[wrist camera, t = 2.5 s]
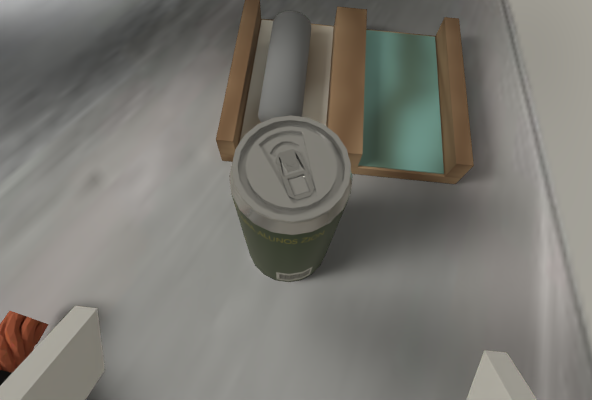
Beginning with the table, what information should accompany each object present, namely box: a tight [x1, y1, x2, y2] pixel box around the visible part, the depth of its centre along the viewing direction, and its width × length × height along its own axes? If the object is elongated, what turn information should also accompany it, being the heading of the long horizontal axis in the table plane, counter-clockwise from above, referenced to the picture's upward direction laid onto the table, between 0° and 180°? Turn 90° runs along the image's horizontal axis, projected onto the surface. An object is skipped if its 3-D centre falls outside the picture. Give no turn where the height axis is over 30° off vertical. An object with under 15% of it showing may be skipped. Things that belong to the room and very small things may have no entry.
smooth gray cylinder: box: [258, 11, 311, 123], centre depth 29 cm, size 9×3×3 cm, turn 175°
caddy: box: [216, 0, 474, 184], centre depth 30 cm, size 18×14×3 cm
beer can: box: [229, 115, 352, 282], centre depth 21 cm, size 5×5×12 cm
